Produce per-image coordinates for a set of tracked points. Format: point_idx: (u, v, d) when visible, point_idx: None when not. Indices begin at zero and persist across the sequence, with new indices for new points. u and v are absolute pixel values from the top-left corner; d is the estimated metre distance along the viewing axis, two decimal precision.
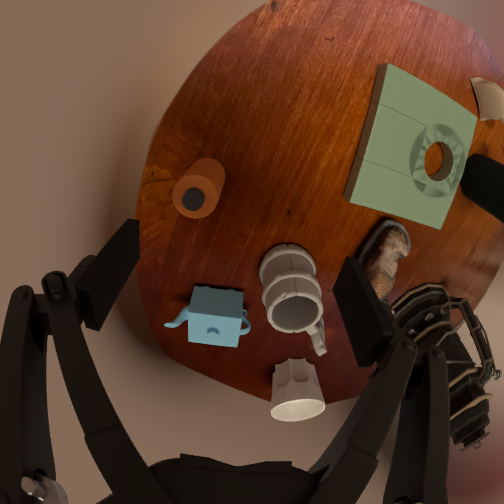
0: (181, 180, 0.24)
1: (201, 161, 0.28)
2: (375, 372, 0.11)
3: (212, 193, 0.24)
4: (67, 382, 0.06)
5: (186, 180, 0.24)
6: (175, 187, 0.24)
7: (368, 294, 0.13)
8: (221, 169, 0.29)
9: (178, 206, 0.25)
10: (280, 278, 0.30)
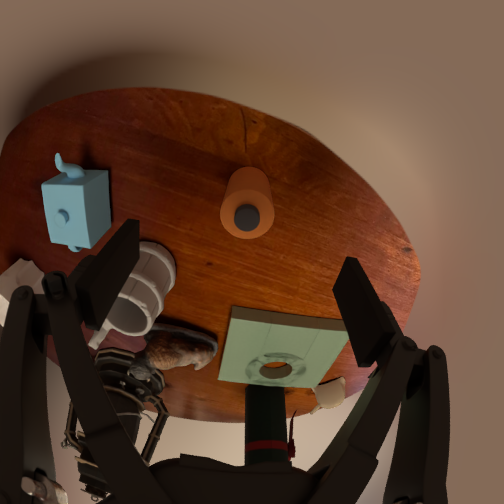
0: (268, 202, 0.21)
1: None
2: (375, 372, 0.11)
3: (251, 234, 0.23)
4: (67, 382, 0.06)
5: (268, 208, 0.22)
6: (260, 194, 0.21)
7: (368, 294, 0.13)
8: None
9: (236, 196, 0.21)
10: (153, 288, 0.27)
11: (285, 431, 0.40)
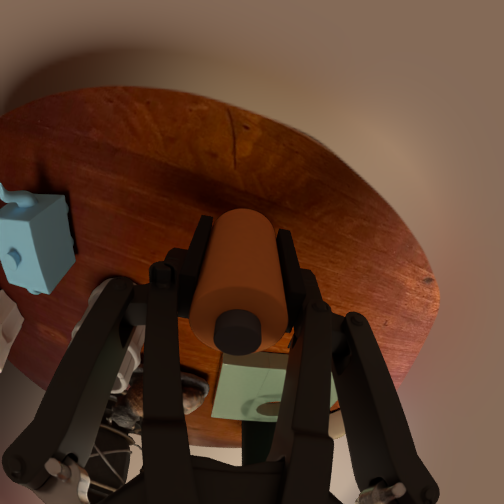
0: (278, 306, 0.11)
1: None
2: (293, 342, 0.12)
3: None
4: (145, 367, 0.08)
5: (277, 315, 0.11)
6: (263, 295, 0.11)
7: (288, 259, 0.15)
8: None
9: (215, 296, 0.11)
10: None
11: None
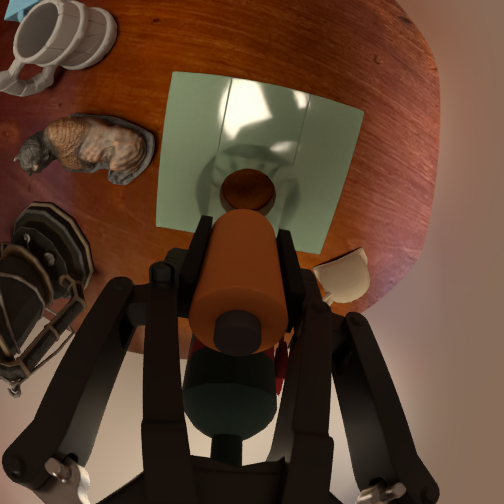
0: (278, 306, 0.11)
1: None
2: (293, 342, 0.12)
3: None
4: (145, 367, 0.08)
5: (278, 315, 0.11)
6: (263, 295, 0.11)
7: (288, 259, 0.15)
8: None
9: (215, 297, 0.11)
10: (80, 6, 0.11)
11: None
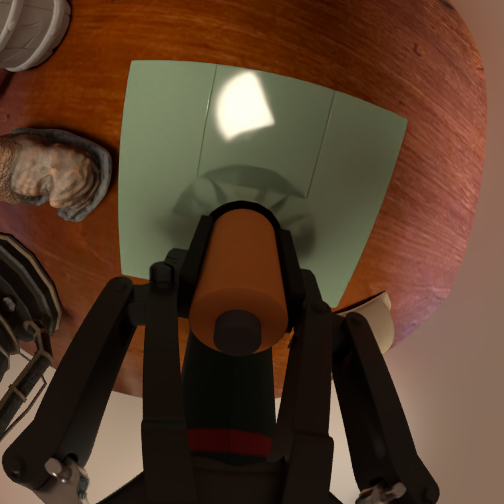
0: (278, 306, 0.11)
1: None
2: (293, 342, 0.12)
3: None
4: (145, 367, 0.08)
5: (277, 315, 0.11)
6: (263, 295, 0.11)
7: (288, 259, 0.15)
8: None
9: (215, 297, 0.11)
10: None
11: (271, 409, 0.17)
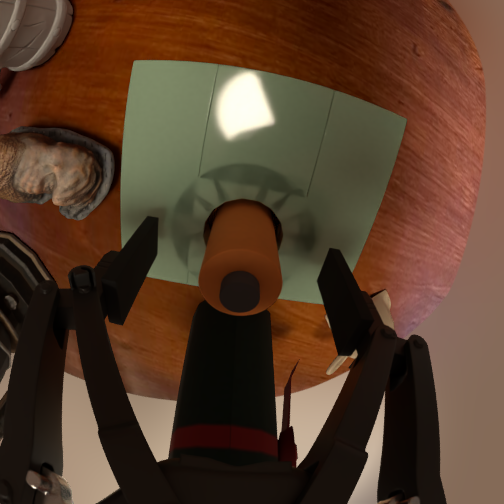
0: (273, 268, 0.14)
1: None
2: (355, 362, 0.12)
3: None
4: (86, 375, 0.07)
5: (273, 276, 0.14)
6: (261, 257, 0.13)
7: (349, 283, 0.14)
8: None
9: (221, 259, 0.13)
10: None
11: (271, 406, 0.17)
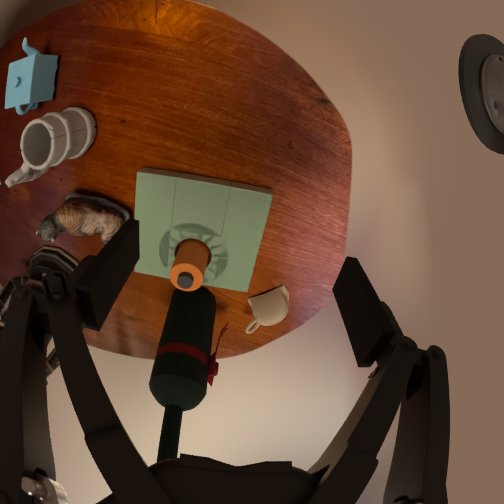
0: (198, 270, 0.33)
1: (208, 253, 0.39)
2: (375, 372, 0.11)
3: (190, 288, 0.35)
4: (67, 382, 0.06)
5: (198, 274, 0.33)
6: (192, 266, 0.33)
7: (368, 294, 0.13)
8: None
9: (177, 267, 0.33)
10: (64, 122, 0.23)
11: (205, 340, 0.37)
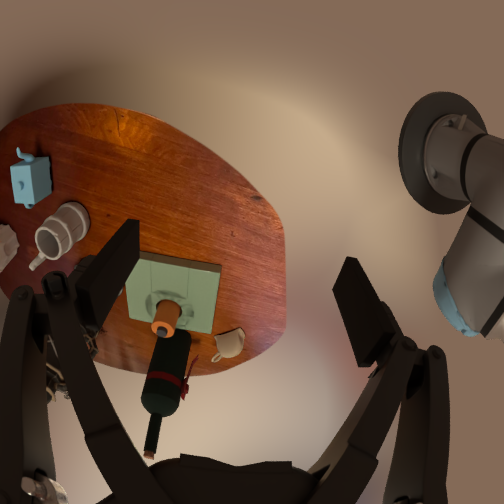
0: (170, 326, 0.46)
1: (179, 308, 0.51)
2: (375, 372, 0.11)
3: (166, 336, 0.48)
4: (67, 382, 0.06)
5: (170, 328, 0.46)
6: (165, 323, 0.46)
7: (368, 294, 0.13)
8: None
9: (156, 323, 0.46)
10: (65, 226, 0.37)
11: (179, 369, 0.49)
